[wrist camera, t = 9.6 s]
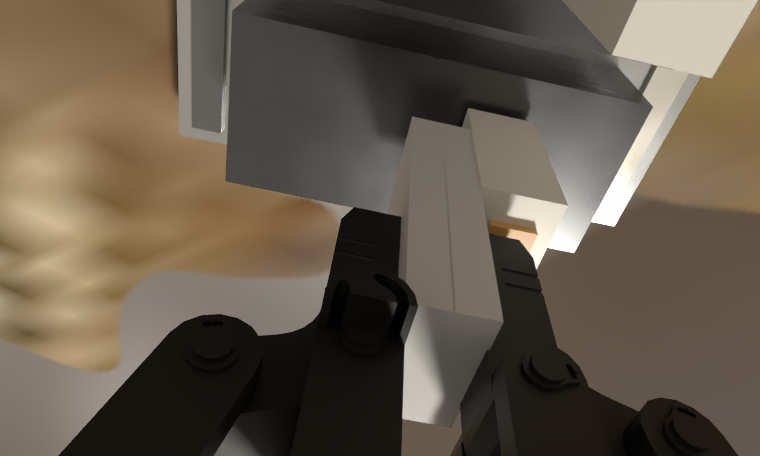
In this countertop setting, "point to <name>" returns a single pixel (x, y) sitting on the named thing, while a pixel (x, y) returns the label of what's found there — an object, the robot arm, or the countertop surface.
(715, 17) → the handle mid
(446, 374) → the robot arm
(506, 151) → the handle
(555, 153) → the panel
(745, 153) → the countertop surface
